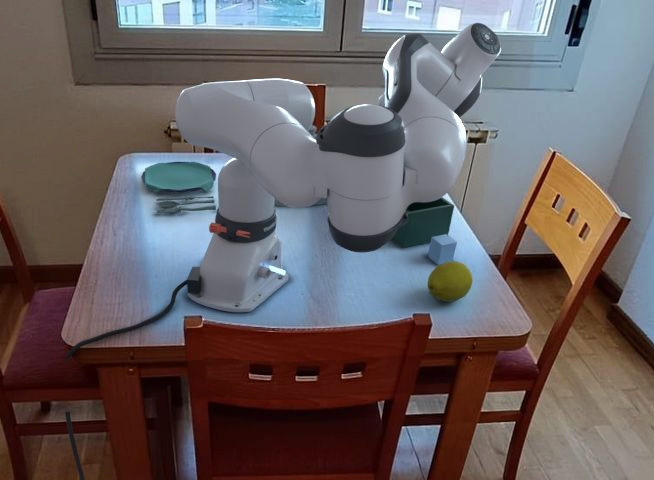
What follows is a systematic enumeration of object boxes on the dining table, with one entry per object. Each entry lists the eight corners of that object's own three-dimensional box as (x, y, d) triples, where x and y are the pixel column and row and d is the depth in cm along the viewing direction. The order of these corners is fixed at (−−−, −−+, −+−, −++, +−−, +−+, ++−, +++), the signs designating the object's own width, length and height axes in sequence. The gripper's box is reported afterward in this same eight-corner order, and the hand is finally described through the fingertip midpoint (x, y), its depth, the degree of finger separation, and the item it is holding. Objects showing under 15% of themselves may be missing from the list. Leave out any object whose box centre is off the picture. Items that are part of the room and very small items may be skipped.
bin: (447, 239, 147) (454, 205, 142) (402, 248, 142) (408, 213, 137) (404, 206, 160) (409, 174, 155) (362, 214, 156) (366, 181, 151)
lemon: (453, 283, 131) (461, 250, 126) (478, 302, 125) (487, 268, 120) (412, 294, 126) (418, 260, 122) (435, 314, 121) (443, 280, 116)
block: (452, 261, 138) (457, 242, 135) (438, 265, 137) (442, 245, 134) (442, 253, 141) (446, 234, 138) (427, 256, 139) (431, 236, 137)
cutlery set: (213, 166, 176) (212, 158, 175) (224, 213, 153) (224, 204, 151) (141, 169, 173) (140, 161, 171) (141, 217, 149) (141, 208, 148)
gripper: (401, 100, 124) (370, 131, 136) (483, 92, 131) (446, 122, 144) (392, 71, 124) (363, 105, 137) (474, 65, 131) (439, 97, 144)
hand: (406, 114), depth 140 cm, fingers closed on bin lid, 5 cm apart
